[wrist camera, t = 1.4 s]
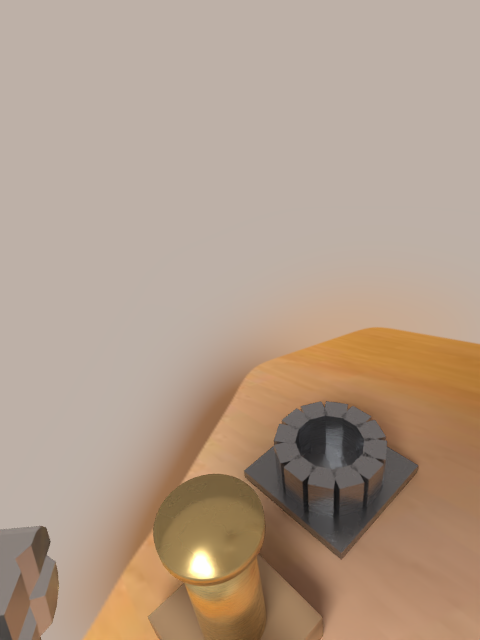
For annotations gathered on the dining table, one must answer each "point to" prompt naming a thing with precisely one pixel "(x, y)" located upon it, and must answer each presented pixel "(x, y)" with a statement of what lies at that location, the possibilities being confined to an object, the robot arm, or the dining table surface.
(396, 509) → the dining table surface
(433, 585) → the dining table surface
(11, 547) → the robot arm
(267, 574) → the stand
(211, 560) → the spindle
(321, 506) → the hub
